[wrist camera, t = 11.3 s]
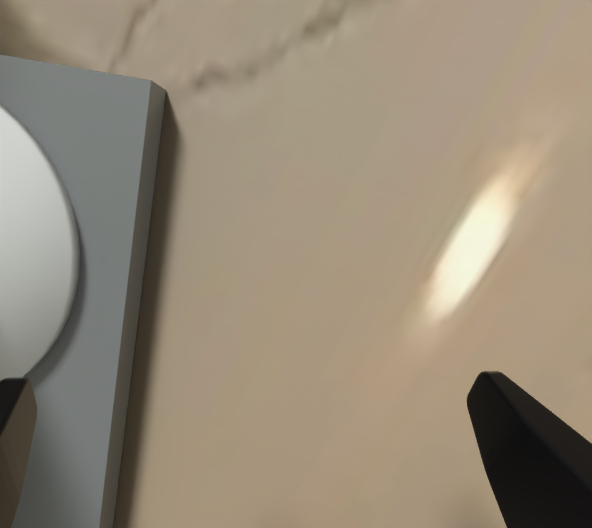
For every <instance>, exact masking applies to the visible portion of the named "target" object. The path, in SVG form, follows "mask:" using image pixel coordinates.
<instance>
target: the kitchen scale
mask: <svg viewBox="0 0 592 528" xmlns="http://www.w3.org/2000/svg"><path fill="white" fill-rule="evenodd" d="M165 96H166V90H165V89H163V88H162V87H160V86H159V85H157V84H156V83H154V82H153V81H151V80H146V79H140V78H134V77H128V76H122V75H116V74H110V73H105V72H99V71H93V70H87V69H81V68H75V67H70V66H64V65H58V64H52V63H46V62H40V61H34V60H29V59H23V58H17V57H11V56H5V55H0V381H1V380H3V379H4V378H8V377H26V378H29V379H30V381H31V383H32V387H33V391H34V395H35V399H36V403H37V419H36V424H35V429H34V434H33V439H32V444H31V449H30V454H29V459H28V464H27V469H26V474H25V479H24V484H23V488H22V493H21V497H20V501H19V505H18V508H17V511H16V515H15V518H14V521H13V524H12V527H11V528H113V524H114V516H115V508H116V499H117V491H118V483H119V475H120V466H121V458H122V450H123V442H124V433H125V425H126V417H127V409H128V401H129V392H130V384H131V376H132V368H133V359H134V351H135V343H136V335H137V327H138V318H139V310H140V302H141V294H142V285H143V277H144V269H145V261H146V252H147V244H148V236H149V228H150V220H151V211H152V203H153V195H154V187H155V178H156V170H157V162H158V154H159V145H160V137H161V129H162V121H163V113H164V104H165Z"/></svg>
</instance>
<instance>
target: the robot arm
mask: <svg viewBox="0 0 592 528" xmlns="http://www.w3.org/2000/svg"><path fill="white" fill-rule="evenodd" d="M467 407H468V411H469V414H470V418H471V422H472V425H473V429H474V432H475V436H476V440H477V443H478V447H479V450H480V454H481V458H482V461H483V465H484V468H485V471H486V474H487V477H488V480H489V482H490V485H491V488H492V490H493V493H494V495H495V498H496V500H497V503H498V506H499V508H500V511H501V513H502V516H503V518H504V521H505V524H506V526H507V528H592V444H591V443H590V442H589V441H588V440H586V439H585V438H584V437H583V436H581V435H580V434H579V433H578V432H576V431H575V430H574V429H572V428H571V427H570V426H569V425H567V424H566V423H565V422H564V421H562V420H561V419H560V418H559V417H557V416H556V415H555V414H553V413H552V412H551V411H550V410H548V409H547V408H546V407H545V406H543V405H542V404H541V403H540V402H538V401H537V400H536V399H534V398H533V397H532V396H531V395H529V394H528V393H527V392H526V391H524V390H523V389H522V388H521V387H519V386H518V385H517V384H516V383H514V382H513V381H512V380H510V379H509V378H508V377H507V376H505V375H504V374H503V373H501V372H498V371H483V372H481V373H480V374H479V375H478V376H477V378H476V380H475V382H474V384H473V386H472V388H471V390H470V392H469V393H468V396H467ZM36 419H37V403H36V399H35V395H34V391H33V387H32V383H31V381H30V379H29V378H26V377H8V378H4V379H3V380H1V381H0V528H11V527H12V524H13V521H14V518H15V515H16V511H17V508H18V505H19V501H20V497H21V493H22V488H23V484H24V479H25V474H26V469H27V464H28V459H29V454H30V449H31V444H32V439H33V434H34V429H35V424H36Z"/></svg>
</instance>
